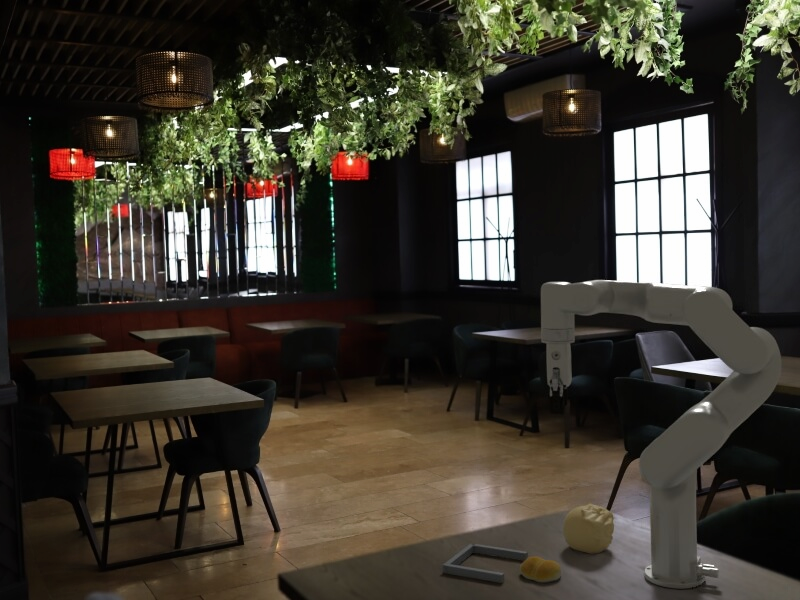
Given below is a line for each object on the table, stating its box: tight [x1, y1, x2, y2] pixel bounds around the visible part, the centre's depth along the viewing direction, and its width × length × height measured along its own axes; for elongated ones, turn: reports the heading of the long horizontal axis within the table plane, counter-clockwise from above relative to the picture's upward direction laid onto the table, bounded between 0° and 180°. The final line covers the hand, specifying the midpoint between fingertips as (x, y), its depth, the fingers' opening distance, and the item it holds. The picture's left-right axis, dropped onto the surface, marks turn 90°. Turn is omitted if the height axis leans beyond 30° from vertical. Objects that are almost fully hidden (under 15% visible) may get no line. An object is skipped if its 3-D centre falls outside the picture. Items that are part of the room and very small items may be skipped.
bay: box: [442, 543, 529, 584], centre depth 192 cm, size 15×15×2 cm
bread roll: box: [519, 555, 562, 583], centre depth 185 cm, size 8×9×4 cm
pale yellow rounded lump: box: [562, 503, 615, 554], centre depth 200 cm, size 12×12×11 cm
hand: (558, 409), depth 191 cm, fingers open, 9 cm apart
